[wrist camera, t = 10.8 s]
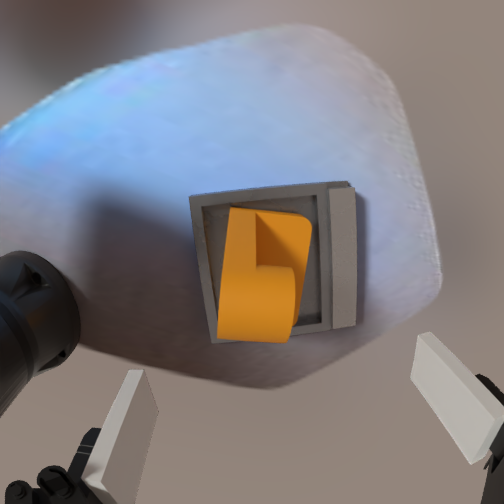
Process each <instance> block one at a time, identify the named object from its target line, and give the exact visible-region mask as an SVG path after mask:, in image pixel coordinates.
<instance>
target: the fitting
mask: <svg viewBox="0 0 504 504" xmlns="http://www.w3.org/2000/svg"><path fill="white" fill-rule="evenodd" d="M189 202H190V210H191V218H192V225H193V232H194V240H195V247H196V253H197V260H198V267H199V273H200V279H201V286H202V292H203V298H204V304H205V310H206V315H207V321H208V327H209V332H210V338H211V343H212V344H215V343H227V342H238V341H240V340H227V339H217V327H218V312H219V299H220V288H221V278H222V269H223V260H224V252H225V244H226V236H227V228H228V220H229V213H230V207H235V208H246V209H256V210H266V211H276V212H286V213H295V214H301V215H303V216H304V217H305V218H307V219H308V220H309V221H310V223H311V225H312V232H311V239H310V246H309V252H308V259H307V265H306V272H305V278H304V284H303V290H302V296H301V302H300V308H299V314H298V319H297V322H296V324H295V325H294V326H292V329H291V333H290V336H292V335H300V334H307V333H315V332H321V331H328V330H331V327H332V328H333V329H337V328H343V327H349V326H355V325H356V303H357V225H356V199H355V188H354V187H349V186H348V181H334V182H319V183H305V184H292V185H281V186H269V187H259V188H249V189H239V190H230V191H221V192H213V193H204V194H196V195H191V196H189Z"/></svg>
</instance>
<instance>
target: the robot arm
mask: <svg viewBox="0 0 504 504" xmlns="http://www.w3.org/2000/svg"><path fill="white" fill-rule="evenodd" d="M79 336H80V318H79V312H78V309H77V305H76V302H75V300H74V297H73V295H72V293H71V291H70V289H69V287H68V285H67V284H66V282H65V281H64V279H63V278H62V277H61V275H60V274H59V273H58V272H57V271H56V270H55V269H54V267H53V266H51V265H50V264H49V263H48V262H47V261H45V260H44V259H43V258H41V257H39V256H37V255H36V254H33V253H30V252H27V251H14V252H11V253H8V254H6V255H4V256H2V257H0V418H1V416H2V415H3V414H4V412H5V411H6V410H7V408H8V407H9V406H10V405H11V403H12V402H13V401H14V399H15V398H16V397H17V396H18V394H19V393H20V392H21V391H22V389H23V388H24V387H25V385H26V384H27V383H28V382H29V381H30V380H31V378H33V377H35V376H37V375H39V374H42V373H44V372H46V371H48V370H50V369H52V368H55V367H57V366H59V365H60V364H62V363H63V362H64V361H65V360H66V359H67V358H68V357H69V356H70V354H71V353H72V352H73V350H74V349H75V347H76V346H77V343H78V340H79ZM410 379H411V380H412V382H413V383H414V384H415V386H416V387H417V389H418V390H419V391H420V393H421V394H422V395H423V397H424V398H425V400H426V401H427V402H428V404H429V405H430V407H431V408H432V409H433V411H434V412H435V414H436V415H437V416H438V418H439V419H440V421H441V422H442V423H443V425H444V427H445V428H446V429H447V431H448V432H449V434H450V435H451V437H452V438H453V440H454V441H455V443H456V444H457V446H458V447H459V449H460V450H461V452H462V453H463V455H464V456H465V458H466V459H467V461H468V462H469V464H470V465H471V464H473V463H475V462H477V461H479V460H480V459H482V458H484V457H485V455H486V453H487V452H488V450H489V449H490V450H491V451H492V455H491V457H490V458H489V460H488V461H487V463H486V465H485V467H484V469H486V468H487V466H488V465H489V468H488V473H487V478H486V483H485V487H484V492H483V496H482V500H481V504H504V394H503V393H502V392H500V390H499V389H498V388H497V386H495V385H494V383H493V382H491V381H490V380H489V378H487V377H485V376H483V375H480V374H477V375H474V374H473V373H472V372H471V371H470V370H469V369H468V368H467V367H466V366H464V364H463V363H462V362H461V361H460V360H459V359H458V358H457V357H456V356H455V355H454V354H452V352H451V351H450V350H449V349H448V348H446V346H445V345H444V344H443V343H442V342H440V340H439V339H438V338H436V337H435V336H434V335H433V334H432V333H431V332H427V333H423V334H420V335H418V339H417V344H416V351H415V356H414V362H413V366H412V371H411V376H410ZM158 412H159V411H158V408H157V406H156V403H155V400H154V397H153V394H152V392H151V389H150V386H149V383H148V380H147V377H146V374H145V371H144V369H129V371H128V373H127V375H126V377H125V379H124V381H123V383H122V385H121V388H120V390H119V392H118V394H117V396H116V399H115V401H114V403H113V405H112V407H111V409H110V412H109V414H108V416H107V418H106V420H105V423H104V425H103V427H102V429H101V428H91V429H90V430H89V431H88V432H87V433H86V434H85V435H84V437H83V439H82V441H81V443H80V446H79V447H78V450H77V453H76V454H75V456H74V458H73V460H72V463H71V465H70V467H69V469H68V472H66V470H65V469H64V468H62V467H60V466H55V465H53V466H48V467H46V468H44V469H42V470H41V472H40V473H39V474H38V477H37V484H38V485H39V487H40V488H31V486H30V485H29V484H28V483H27V482H25V481H20V480H17V481H14V482H12V483H11V484H9V485H8V487H7V488H6V492H5V504H135V500H136V496H137V492H138V487H139V484H140V480H141V475H142V472H143V468H144V464H145V460H146V456H147V453H148V448H149V445H150V441H151V438H152V434H153V430H154V427H155V423H156V419H157V416H158Z"/></svg>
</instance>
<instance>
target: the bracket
mask: <svg viewBox="0 0 504 504" xmlns="http://www.w3.org/2000/svg"><path fill="white" fill-rule="evenodd" d="M311 232H312V225H311V223H310V221H309V220H308V219H307V218H305V217H304V216H303V215H301V214H295V213H286V212H276V211H266V210H256V209H246V208H235V207H230V213H229V220H228V228H227V236H226V244H225V252H224V260H223V269H222V278H221V288H220V299H219V312H218V327H217V339H227V340H240V341H254V342H270V343H286V342H287V341H288V339H289V336H290V333H291V329H292V326H294V325H295V324H296V322H297V319H298V314H299V308H300V302H301V296H302V290H303V284H304V278H305V272H306V265H307V259H308V252H309V246H310V239H311Z"/></svg>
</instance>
